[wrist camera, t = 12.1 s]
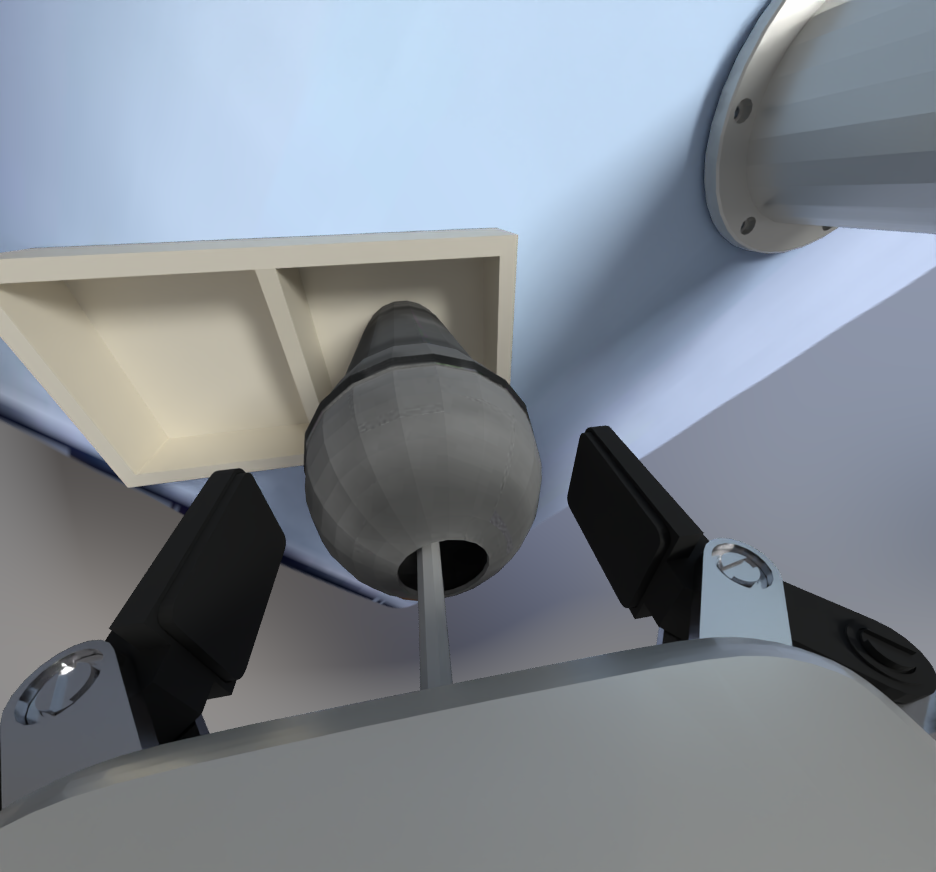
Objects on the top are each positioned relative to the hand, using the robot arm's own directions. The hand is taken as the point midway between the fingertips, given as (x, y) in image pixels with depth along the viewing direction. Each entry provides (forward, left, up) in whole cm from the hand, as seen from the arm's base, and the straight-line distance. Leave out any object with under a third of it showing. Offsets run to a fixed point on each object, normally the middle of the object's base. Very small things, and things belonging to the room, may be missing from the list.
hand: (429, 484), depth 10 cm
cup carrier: (+6, 0, -13) cm, 14 cm away
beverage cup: (0, 0, -13) cm, 13 cm away
